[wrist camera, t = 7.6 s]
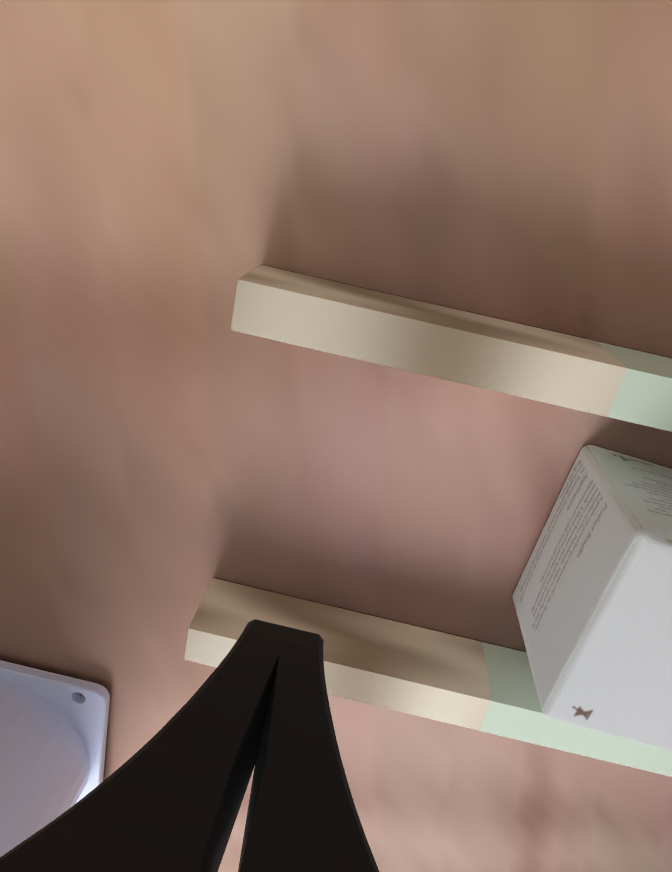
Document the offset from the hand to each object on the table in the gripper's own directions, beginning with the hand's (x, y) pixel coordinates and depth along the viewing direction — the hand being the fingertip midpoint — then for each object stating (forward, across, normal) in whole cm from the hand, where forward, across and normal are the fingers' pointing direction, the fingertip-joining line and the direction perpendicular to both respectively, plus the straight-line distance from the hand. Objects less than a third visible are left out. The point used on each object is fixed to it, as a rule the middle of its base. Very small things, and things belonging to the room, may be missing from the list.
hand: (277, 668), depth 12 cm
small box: (+8, -9, 0) cm, 12 cm away
